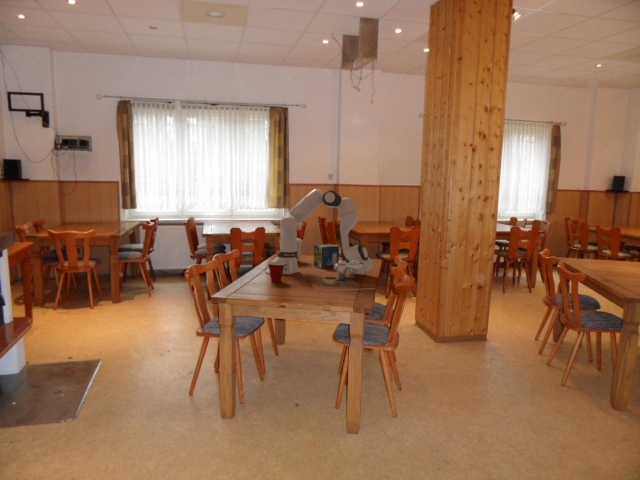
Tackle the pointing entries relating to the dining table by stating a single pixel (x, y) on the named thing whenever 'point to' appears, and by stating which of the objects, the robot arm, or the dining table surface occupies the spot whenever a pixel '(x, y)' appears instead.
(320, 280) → the rubber mat
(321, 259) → the protein box
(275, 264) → the plastic cup
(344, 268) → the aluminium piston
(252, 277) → the dining table surface
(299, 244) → the canister
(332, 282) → the brass collar
